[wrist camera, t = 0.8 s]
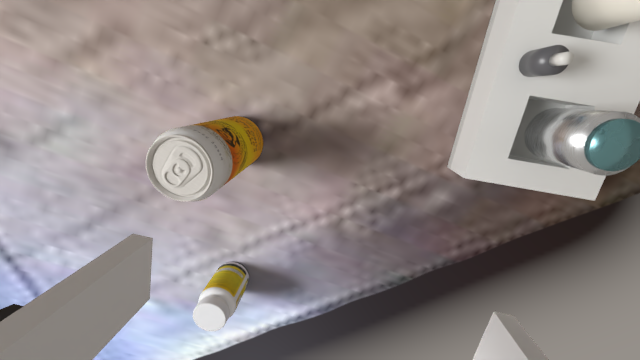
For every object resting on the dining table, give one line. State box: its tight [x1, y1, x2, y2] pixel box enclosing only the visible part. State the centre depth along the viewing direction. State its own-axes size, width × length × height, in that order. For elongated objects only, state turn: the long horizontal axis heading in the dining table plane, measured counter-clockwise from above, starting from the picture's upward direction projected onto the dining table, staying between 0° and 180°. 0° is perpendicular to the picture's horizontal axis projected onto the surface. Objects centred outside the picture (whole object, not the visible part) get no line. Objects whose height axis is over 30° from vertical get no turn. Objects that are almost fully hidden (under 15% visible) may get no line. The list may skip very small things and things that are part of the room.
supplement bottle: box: [193, 262, 249, 331], centre depth 39 cm, size 5×5×8 cm
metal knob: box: [525, 108, 640, 176], centre depth 26 cm, size 5×5×8 cm
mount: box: [447, 0, 640, 201], centre depth 31 cm, size 24×14×5 cm, turn 171°
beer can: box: [146, 116, 263, 201], centre depth 30 cm, size 6×6×15 cm
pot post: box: [519, 45, 574, 77], centre depth 26 cm, size 2×2×5 cm
